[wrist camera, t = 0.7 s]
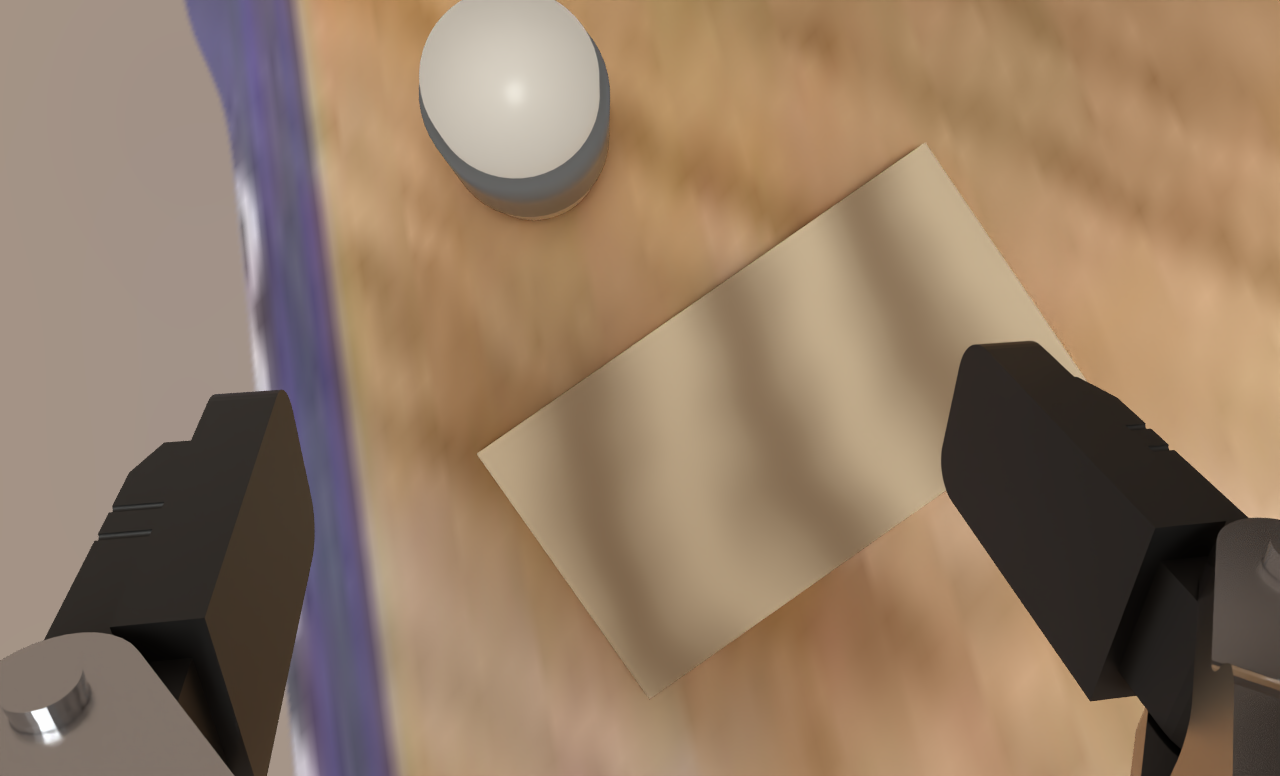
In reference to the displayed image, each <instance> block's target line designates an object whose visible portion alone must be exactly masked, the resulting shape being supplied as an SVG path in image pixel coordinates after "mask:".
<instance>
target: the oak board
mask: <svg viewBox="0 0 1280 776" xmlns="http://www.w3.org/2000/svg"><path fill="white" fill-rule="evenodd" d="M1017 341H1035V342H1037V343H1039V344H1040V345H1041V346H1042V347H1043V348H1044V349H1045V350H1046V351H1048V352H1049V353H1050V354H1051V355H1052V356H1053V357H1054V358H1055V359H1056V360H1057V361H1058V362H1059V363H1060V364H1061V365H1062V366H1063V367H1064V368H1065V369H1067V370H1068V371H1069V372H1070V373H1071V374H1072V375H1073V376H1074V377H1079V378H1081V379H1083V380H1084V381H1086V379H1085V378H1084V376H1083V375H1082V373H1081V372H1080V370H1079V369H1078V367H1077V366H1076V364H1075V363H1074V361H1073V360H1072V358H1071V357H1070V356H1069V354H1068V353H1067V351H1066V350H1065V348H1064V347H1063V345H1062V344H1061V342H1060V341H1059V339H1058V338H1057V336H1056V335H1055V333H1054V332H1053V330H1052V329H1051V327H1050V326H1049V324H1048V323H1047V322H1046V320H1045V319H1044V317H1043V316H1042V314H1041V313H1040V311H1039V310H1038V308H1037V307H1036V305H1035V304H1034V302H1033V301H1032V299H1031V298H1030V296H1029V295H1028V293H1027V292H1026V290H1025V289H1024V288H1023V286H1022V285H1021V283H1020V282H1019V280H1018V279H1017V277H1016V276H1015V274H1014V273H1013V271H1012V270H1011V268H1010V267H1009V265H1008V264H1007V262H1006V261H1005V259H1004V258H1003V256H1002V255H1001V254H1000V252H999V251H998V249H997V248H996V246H995V245H994V243H993V242H992V240H991V239H990V237H989V236H988V234H987V233H986V231H985V230H984V228H983V227H982V225H981V224H980V222H979V221H978V220H977V218H976V217H975V215H974V214H973V212H972V211H971V209H970V208H969V206H968V205H967V203H966V202H965V200H964V199H963V197H962V196H961V194H960V193H959V191H958V190H957V188H956V187H955V186H954V184H953V183H952V181H951V180H950V178H949V177H948V175H947V174H946V172H945V171H944V169H943V168H942V166H941V165H940V163H939V162H938V160H937V159H936V157H935V156H934V154H933V153H932V152H931V150H930V149H929V147H928V146H927V144H926V143H923V144H922V145H921V146H919V147H918V148H916V149H915V150H913V151H912V152H911V153H909V154H908V155H906V156H905V157H903V158H902V159H900V160H899V161H898V162H896V163H895V164H893V165H892V166H890V167H889V168H887V169H886V170H885V171H883V172H882V173H880V174H879V175H877V176H876V177H875V178H873V179H872V180H870V181H869V182H867V183H866V184H864V185H863V186H862V187H860V188H859V189H857V190H856V191H854V192H853V193H851V194H850V195H849V196H847V197H846V198H844V199H843V200H841V201H840V202H839V203H837V204H836V205H834V206H833V207H831V208H830V209H828V210H827V211H826V212H824V213H823V214H821V215H820V216H818V217H817V218H815V219H814V220H813V221H811V222H810V223H808V224H807V225H805V226H804V227H803V228H801V229H800V230H798V231H797V232H795V233H794V234H792V235H791V236H790V237H788V238H787V239H785V240H784V241H782V242H781V243H779V244H778V245H777V246H775V247H774V248H772V249H771V250H769V251H768V252H767V253H765V254H764V255H762V256H761V257H759V258H758V259H756V260H755V261H754V262H752V263H751V264H749V265H748V266H746V267H745V268H743V269H742V270H741V271H739V272H738V273H736V274H735V275H733V276H732V277H731V278H729V279H728V280H726V281H725V282H723V283H722V284H720V285H719V286H718V287H716V288H715V289H713V290H712V291H710V292H709V293H707V294H706V295H705V296H703V297H702V298H700V299H699V300H697V301H696V302H695V303H693V304H692V305H690V306H689V307H687V308H686V309H684V310H683V311H682V312H680V313H679V314H677V315H676V316H674V317H673V318H671V319H670V320H669V321H667V322H666V323H664V324H663V325H661V326H660V327H659V328H657V329H656V330H654V331H653V332H651V333H650V334H648V335H647V336H646V337H644V338H643V339H641V340H640V341H638V342H637V343H635V344H634V345H633V346H631V347H630V348H628V349H627V350H625V351H624V352H623V353H621V354H620V355H618V356H617V357H615V358H614V359H612V360H611V361H610V362H608V363H607V364H605V365H604V366H602V367H601V368H599V369H598V370H597V371H595V372H594V373H592V374H591V375H589V376H588V377H587V378H585V379H584V380H582V381H581V382H579V383H578V384H576V385H575V386H574V387H572V388H571V389H569V390H568V391H566V392H565V393H564V394H562V395H561V396H559V397H558V398H556V399H555V400H553V401H552V402H551V403H549V404H548V405H546V406H545V407H543V408H542V409H540V410H539V411H538V412H536V413H535V414H533V415H532V416H530V417H529V418H528V419H526V420H525V421H523V422H522V423H520V424H519V425H517V426H516V427H515V428H513V429H512V430H510V431H509V432H507V433H506V434H504V435H503V436H502V437H500V438H499V439H497V440H496V441H494V442H493V443H492V444H490V445H489V446H487V447H486V448H484V449H483V450H481V451H480V452H479V453H477V455H478V456H479V458H480V459H481V461H482V462H483V464H484V465H485V466H486V468H487V469H488V471H489V472H490V474H491V475H492V476H493V478H494V479H495V481H496V482H497V484H498V485H499V486H500V488H501V489H502V491H503V492H504V493H505V495H506V496H507V498H508V499H509V501H510V502H511V503H512V505H513V506H514V508H515V509H516V511H517V512H518V513H519V515H520V516H521V518H522V519H523V520H524V522H525V523H526V525H527V526H528V528H529V529H530V530H531V532H532V533H533V535H534V536H535V538H536V539H537V540H538V542H539V543H540V545H541V546H542V547H543V549H544V550H545V552H546V553H547V555H548V556H549V557H550V559H551V560H552V562H553V563H554V565H555V566H556V567H557V569H558V570H559V572H560V573H561V574H562V576H563V577H564V579H565V580H566V582H567V583H568V584H569V586H570V587H571V589H572V590H573V592H574V593H575V594H576V596H577V597H578V599H579V600H580V602H581V603H582V604H583V606H584V607H585V609H586V610H587V611H588V613H589V614H590V616H591V617H592V619H593V620H594V621H595V623H596V624H597V626H598V627H599V629H600V630H601V631H602V633H603V634H604V636H605V637H606V638H607V640H608V641H609V643H610V644H611V646H612V647H613V648H614V650H615V651H616V653H617V654H618V656H619V657H620V658H621V660H622V661H623V663H624V664H625V665H626V667H627V668H628V670H629V671H630V673H631V674H632V675H633V677H634V678H635V680H636V681H637V683H638V684H639V685H640V687H641V688H642V690H643V691H644V693H645V694H646V695H647V697H648V698H649V700H650V699H651V698H652V697H654V696H655V695H657V694H658V693H660V692H661V691H662V690H664V689H665V688H667V687H668V686H669V685H671V684H672V683H674V682H675V681H677V680H678V679H679V678H681V677H682V676H684V675H685V674H686V673H688V672H689V671H691V670H692V669H694V668H695V667H696V666H698V665H699V664H701V663H702V662H703V661H705V660H706V659H708V658H709V657H711V656H712V655H713V654H715V653H716V652H718V651H719V650H720V649H722V648H723V647H725V646H726V645H728V644H729V643H730V642H732V641H733V640H735V639H736V638H737V637H739V636H740V635H742V634H743V633H745V632H746V631H747V630H749V629H750V628H752V627H753V626H754V625H756V624H757V623H759V622H760V621H762V620H763V619H764V618H766V617H767V616H769V615H770V614H772V613H773V612H774V611H776V610H777V609H779V608H780V607H781V606H783V605H784V604H786V603H787V602H789V601H790V600H791V599H793V598H794V597H796V596H797V595H798V594H800V593H801V592H803V591H804V590H806V589H807V588H808V587H810V586H811V585H813V584H814V583H815V582H817V581H818V580H820V579H821V578H823V577H824V576H825V575H827V574H828V573H830V572H831V571H832V570H834V569H835V568H837V567H838V566H840V565H841V564H842V563H844V562H845V561H847V560H848V559H849V558H851V557H852V556H854V555H855V554H857V553H858V552H859V551H861V550H862V549H864V548H865V547H867V546H868V545H869V544H871V543H872V542H874V541H875V540H876V539H878V538H879V537H881V536H882V535H884V534H885V533H886V532H888V531H889V530H891V529H892V528H893V527H895V526H896V525H898V524H899V523H901V522H902V521H903V520H905V519H906V518H908V517H909V516H910V515H912V514H913V513H915V512H916V511H918V510H919V509H920V508H922V507H923V506H925V505H926V504H927V503H929V502H930V501H932V500H933V499H935V498H936V497H937V496H939V495H940V494H942V493H943V492H944V491H946V488H945V485H944V481H943V477H942V470H941V451H942V445H943V441H944V436H945V431H946V427H947V422H948V417H949V412H950V408H951V403H952V398H953V394H954V389H955V384H956V380H957V375H958V370H959V366H960V362H961V359H962V356H963V354H964V352H965V351H966V350H967V348H968V347H970V346H971V345H975V344H988V343H1002V342H1017ZM1086 382H1087V381H1086Z"/></svg>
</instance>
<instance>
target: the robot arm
mask: <svg viewBox="0 0 1280 776" xmlns="http://www.w3.org/2000/svg"><path fill="white" fill-rule="evenodd" d="M941 470H942V477H943V481H944V485H945V488H946V491H947V493H948V495H949V497H950V499H951V501H952V502H953V504H954V505H955V507H956V508H957V509H958V511H959V512H960V514H961V515H962V517H963V518H964V520H965V521H966V522H967V524H968V525H969V527H970V528H971V530H972V531H973V533H974V534H975V535H976V537H977V538H978V540H979V541H980V543H981V544H982V546H983V547H984V548H985V550H986V551H987V553H988V554H989V556H990V557H991V559H992V560H993V561H994V563H995V564H996V566H997V567H998V569H999V570H1000V572H1001V573H1002V574H1003V576H1004V577H1005V579H1006V580H1007V582H1008V583H1009V585H1010V586H1011V587H1012V589H1013V590H1014V592H1015V593H1016V595H1017V596H1018V598H1019V599H1020V600H1021V602H1022V603H1023V605H1024V606H1025V608H1026V609H1027V611H1028V612H1029V613H1030V615H1031V616H1032V618H1033V619H1034V621H1035V622H1036V624H1037V625H1038V626H1039V628H1040V629H1041V631H1042V632H1043V634H1044V635H1045V637H1046V638H1047V640H1048V641H1049V642H1050V644H1051V645H1052V647H1053V648H1054V650H1055V651H1056V653H1057V654H1058V655H1059V657H1060V658H1061V660H1062V661H1063V663H1064V664H1065V666H1066V667H1067V668H1068V670H1069V671H1070V673H1071V674H1072V676H1073V677H1074V679H1075V680H1076V681H1077V683H1078V684H1079V686H1080V687H1081V689H1082V690H1083V692H1084V693H1085V694H1086V696H1087V697H1088V699H1089V700H1090V701H1097V700H1105V699H1113V698H1121V697H1129V696H1137V697H1138V698H1139V700H1140V701H1141V702H1142V704H1143V705H1144V706H1145V709H1144V711H1143V714H1142V716H1141V718H1140V721H1139V723H1138V726H1137V729H1136V734H1135V742H1134V751H1133V759H1132V767H1131V776H1280V520H1278V519H1270V518H1248V517H1247V516H1246V515H1245V514H1244V513H1243V512H1241V511H1240V510H1239V509H1238V508H1237V507H1236V506H1235V505H1234V504H1233V503H1232V502H1231V501H1229V500H1228V499H1227V498H1226V497H1225V496H1224V495H1223V494H1222V493H1221V492H1220V491H1219V490H1217V489H1216V488H1215V487H1214V486H1213V485H1212V484H1211V483H1210V482H1209V481H1208V480H1207V479H1205V478H1204V477H1203V476H1202V475H1201V474H1200V473H1199V472H1198V471H1197V470H1196V469H1195V468H1193V467H1192V466H1191V465H1190V464H1189V463H1188V462H1187V461H1186V460H1185V459H1184V458H1183V457H1181V456H1180V455H1179V454H1178V453H1177V452H1176V451H1175V450H1170V451H1169V448H1168V444H1167V443H1166V442H1165V441H1164V440H1163V439H1162V438H1161V437H1160V436H1159V435H1157V434H1156V433H1155V432H1154V431H1153V430H1152V429H1146V427H1145V423H1144V422H1143V421H1142V420H1141V419H1140V418H1139V417H1138V416H1137V415H1136V414H1135V413H1133V412H1132V411H1131V410H1130V409H1129V408H1128V407H1127V406H1126V405H1125V404H1124V403H1122V402H1121V401H1120V400H1119V399H1118V398H1117V397H1115V396H1113V395H1111V394H1109V393H1107V392H1105V391H1103V390H1101V389H1100V388H1098V387H1096V386H1094V385H1092V384H1090V383H1088V382H1086V381H1084V380H1083V379H1081V378H1079V377H1074V376H1073V375H1072V374H1071V373H1070V372H1069V371H1068V370H1067V369H1065V368H1064V367H1063V366H1062V365H1061V364H1060V363H1059V362H1058V361H1057V360H1056V359H1055V358H1054V357H1053V356H1052V355H1051V354H1050V353H1049V352H1048V351H1046V350H1045V349H1044V348H1043V347H1042V346H1041V345H1040V344H1039V343H1037V342H1035V341H1017V342H1002V343H988V344H975V345H971V346H970V347H968V348H967V350H966V351H965V352H964V354H963V356H962V359H961V362H960V366H959V370H958V375H957V380H956V384H955V389H954V394H953V398H952V403H951V408H950V412H949V417H948V422H947V427H946V431H945V436H944V441H943V445H942V451H941ZM98 535H99V540H98V541H94V543H93V545H92V547H91V549H90V551H89V553H88V555H87V557H86V559H85V561H84V563H83V565H82V567H81V569H80V571H79V573H78V575H77V577H76V578H75V580H74V582H73V584H72V586H71V588H70V590H69V592H68V594H67V596H66V598H65V600H64V602H63V604H62V606H61V608H60V610H59V612H58V614H57V616H56V618H55V620H54V622H53V623H52V625H51V628H50V629H49V631H48V634H47V635H46V637H45V639H44V641H41V642H38V643H35V644H32V645H30V646H28V647H26V648H23V649H21V650H19V651H17V652H15V653H13V654H11V655H9V656H7V657H6V658H4V659H2V660H0V776H267V773H268V768H269V763H270V758H271V753H272V748H273V744H274V739H275V734H276V729H277V725H278V720H279V714H280V710H281V705H282V701H283V696H284V691H285V686H286V682H287V677H288V672H289V667H290V662H291V658H292V653H293V648H294V643H295V638H296V634H297V629H298V624H299V619H300V614H301V610H302V605H303V600H304V595H305V591H306V586H307V581H308V576H309V571H310V567H311V562H312V557H313V550H314V513H313V505H312V499H311V494H310V489H309V485H308V480H307V475H306V471H305V466H304V461H303V457H302V452H301V447H300V443H299V438H298V433H297V429H296V424H295V419H294V415H293V410H292V406H291V403H290V400H289V397H288V395H287V393H286V392H285V391H284V390H272V391H257V392H243V393H228V394H215V395H213V396H212V397H210V399H209V401H208V403H207V405H206V408H205V410H204V412H203V415H202V417H201V419H200V421H199V424H198V426H197V428H196V431H195V433H194V435H193V437H192V440H191V441H181V442H166V443H163V444H162V445H161V446H160V447H159V448H157V449H156V450H155V451H154V452H153V453H152V454H150V455H149V456H148V457H147V458H146V459H145V460H143V461H142V462H141V463H140V464H139V465H138V466H136V467H135V468H134V469H133V470H132V471H131V472H130V473H129V474H128V476H127V478H126V480H125V482H124V484H123V486H122V488H121V490H120V492H119V494H118V496H117V498H116V500H115V502H114V504H113V512H111V513H108V516H107V518H106V520H105V522H104V523H103V525H102V527H101V529H100V531H99V533H98Z"/></svg>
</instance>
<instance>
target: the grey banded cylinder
mask: <svg viewBox="0 0 1280 776" xmlns="http://www.w3.org/2000/svg"><path fill="white" fill-rule="evenodd" d="M419 102H420V109H421V114H422V118H423V121H424V125H425V127H426V129H427V131H428V134H429V136H430V138H431V139H432V141H433V143H434V144H435V146H436V148H437V149H438V150H439V152H440V153H441V154H442V156H443V157H444V158H445V160H446V161H447V163H448V164H449V165H450V167H451V168H452V169H453V171H454V172H455V173H456V175H457V176H458V178H459V179H460V180H461V182H462V183H463V184H464V185H465V187H466V188H467V189H468V190H469V191H470V192H471V193H472V194H473V195H474V196H475V197H476V198H477V199H479V200H480V201H481V202H483V203H484V204H486V205H487V206H489V207H491V208H493V209H495V210H497V211H500V212H502V213H505V214H507V215H510V216H512V217H516V218H520V219H525V220H543V219H549V218H553V217H556V216H559V215H561V214H563V213H565V212H567V211H569V210H570V209H572V208H573V207H575V206H576V205H577V204H578V203H579V202H580V201H581V200H582V199H583V198H584V197H585V196H586V195H587V193H588V192H589V191H590V189H591V187H592V186H593V184H594V183H595V182H596V180H597V178H598V177H599V175H600V173H601V171H602V169H603V166H604V164H605V161H606V157H607V153H608V146H609V118H610V86H609V79H608V73H607V70H606V66H605V63H604V60H603V58H602V56H601V53H600V51H599V49H598V47H597V46H596V44H595V42H594V41H593V39H592V38H591V37H590V35H589V34H588V33H587V32H586V30H585V29H584V27H583V26H582V24H581V23H580V22H579V21H578V19H577V18H576V17H575V16H574V15H573V14H572V13H571V12H570V11H569V10H568V9H567V8H565V7H564V6H563V5H561V4H560V3H559V2H557V1H555V0H461V1H460V2H458V3H457V4H455V5H454V6H453V7H452V8H450V9H449V10H448V11H447V12H446V13H445V14H444V15H443V16H442V17H441V18H440V20H439V21H438V22H437V24H436V25H435V26H434V28H433V29H432V31H431V33H430V35H429V37H428V38H427V41H426V44H425V46H424V49H423V53H422V57H421V61H420V70H419Z"/></svg>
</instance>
